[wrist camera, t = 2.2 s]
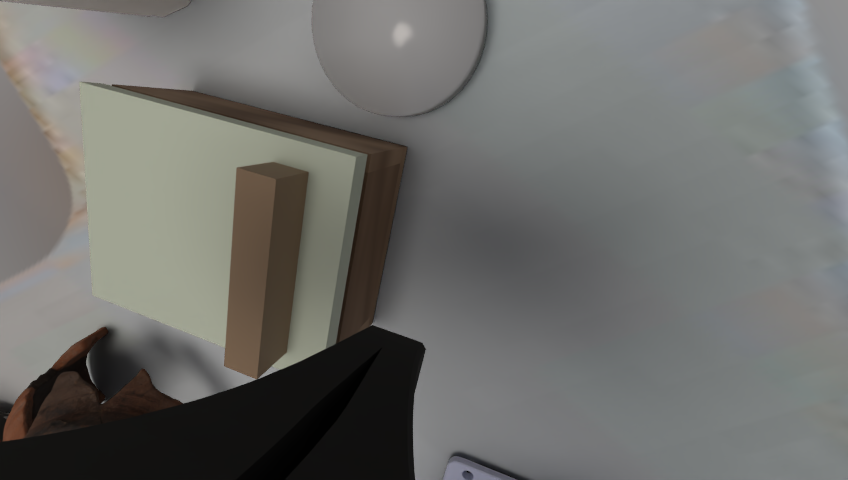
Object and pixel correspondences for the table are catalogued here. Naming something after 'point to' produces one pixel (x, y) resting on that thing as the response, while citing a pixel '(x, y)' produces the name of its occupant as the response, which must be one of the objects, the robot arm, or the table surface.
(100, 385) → the table surface
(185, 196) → the lid
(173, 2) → the foam cup
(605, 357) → the table surface
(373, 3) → the grey piece
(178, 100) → the box
